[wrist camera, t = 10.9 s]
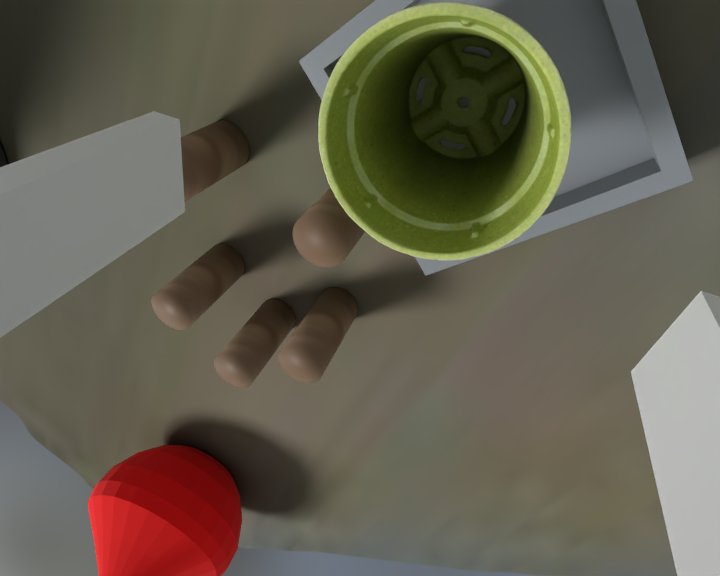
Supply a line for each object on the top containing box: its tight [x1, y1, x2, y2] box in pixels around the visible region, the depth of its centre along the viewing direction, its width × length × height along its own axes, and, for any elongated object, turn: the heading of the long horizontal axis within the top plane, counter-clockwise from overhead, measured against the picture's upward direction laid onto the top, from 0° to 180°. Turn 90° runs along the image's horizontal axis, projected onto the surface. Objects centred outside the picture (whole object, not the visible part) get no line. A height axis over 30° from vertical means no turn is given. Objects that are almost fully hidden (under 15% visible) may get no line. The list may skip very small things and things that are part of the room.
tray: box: [299, 0, 693, 275], centre depth 23 cm, size 14×14×2 cm
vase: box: [88, 445, 242, 576], centre depth 52 cm, size 18×18×19 cm
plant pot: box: [318, 2, 572, 260], centre depth 20 cm, size 9×9×9 cm
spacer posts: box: [151, 120, 365, 388], centre depth 30 cm, size 17×17×7 cm
